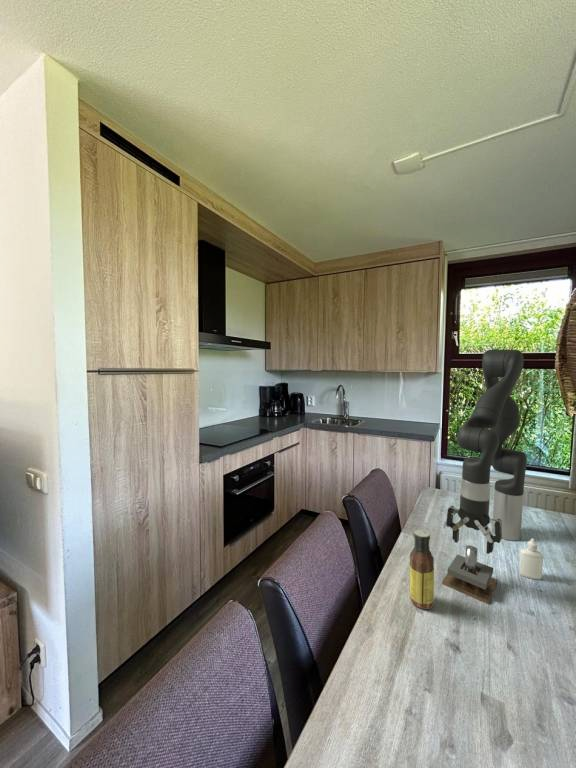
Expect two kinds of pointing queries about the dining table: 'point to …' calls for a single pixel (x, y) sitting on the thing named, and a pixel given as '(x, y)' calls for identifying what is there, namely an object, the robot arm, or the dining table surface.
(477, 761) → the dining table surface
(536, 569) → the eye dropper bottle
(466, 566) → the bronze plate with post
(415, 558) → the sauce bottle
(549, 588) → the dining table surface
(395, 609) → the dining table surface
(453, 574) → the collar
